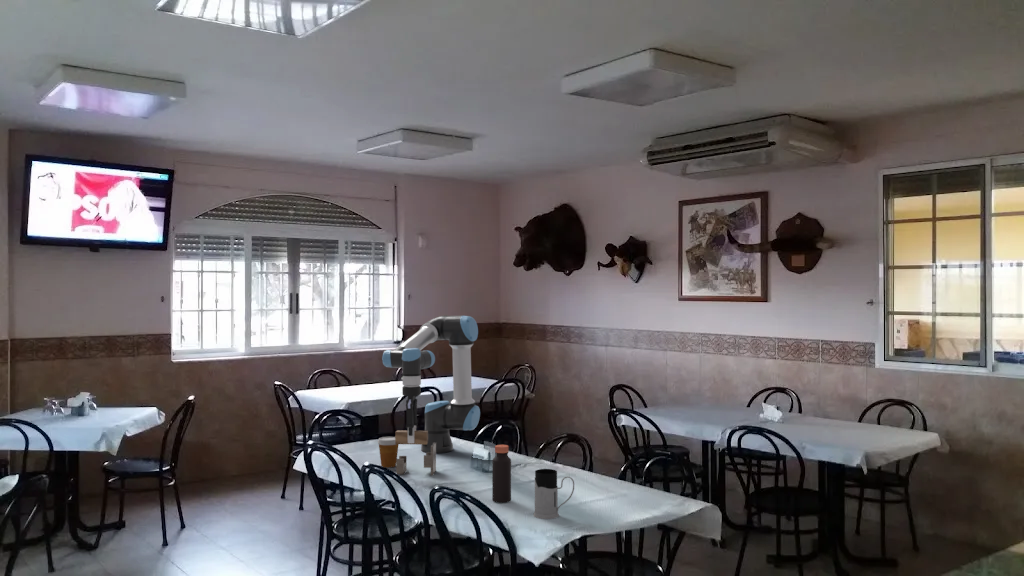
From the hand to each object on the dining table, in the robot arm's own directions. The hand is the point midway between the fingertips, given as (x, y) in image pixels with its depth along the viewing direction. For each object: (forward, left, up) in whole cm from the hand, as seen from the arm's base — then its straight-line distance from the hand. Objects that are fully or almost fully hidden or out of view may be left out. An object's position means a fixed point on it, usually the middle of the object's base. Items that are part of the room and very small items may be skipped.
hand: (411, 442), depth 324 cm
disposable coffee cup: (-16, -13, -14) cm, 25 cm away
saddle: (-4, -5, -14) cm, 15 cm away
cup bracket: (-4, +7, -14) cm, 16 cm away
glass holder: (+55, +59, -14) cm, 82 cm away
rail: (0, 0, -1) cm, 1 cm away
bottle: (+37, +40, -14) cm, 56 cm away
